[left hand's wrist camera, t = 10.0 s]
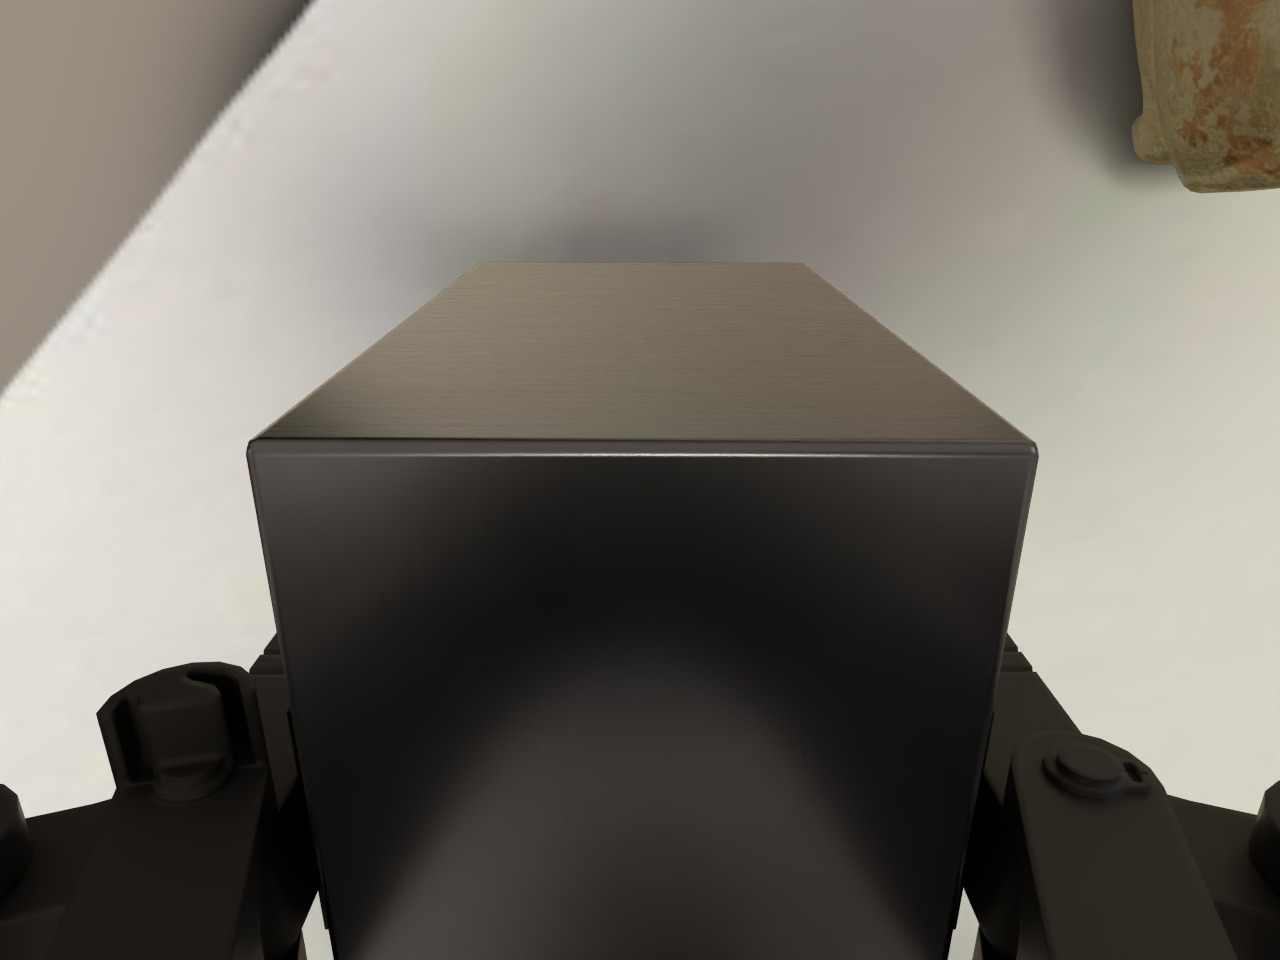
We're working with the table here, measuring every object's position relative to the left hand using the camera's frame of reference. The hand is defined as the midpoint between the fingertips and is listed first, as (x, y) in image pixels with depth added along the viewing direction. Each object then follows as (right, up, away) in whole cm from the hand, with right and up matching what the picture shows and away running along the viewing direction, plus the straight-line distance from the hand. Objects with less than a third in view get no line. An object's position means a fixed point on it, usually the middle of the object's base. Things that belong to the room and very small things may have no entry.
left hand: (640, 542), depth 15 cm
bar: (0, -8, +4) cm, 9 cm away
